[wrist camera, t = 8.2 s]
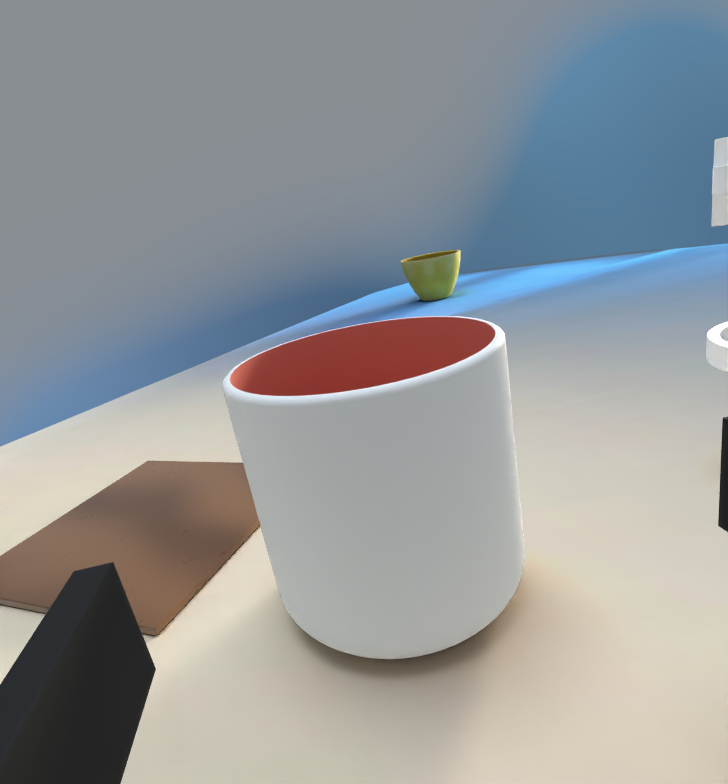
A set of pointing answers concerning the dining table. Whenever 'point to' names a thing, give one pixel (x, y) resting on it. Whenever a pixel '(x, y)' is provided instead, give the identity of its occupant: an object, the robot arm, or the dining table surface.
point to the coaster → (140, 539)
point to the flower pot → (432, 274)
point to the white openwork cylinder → (724, 339)
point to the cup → (385, 480)
